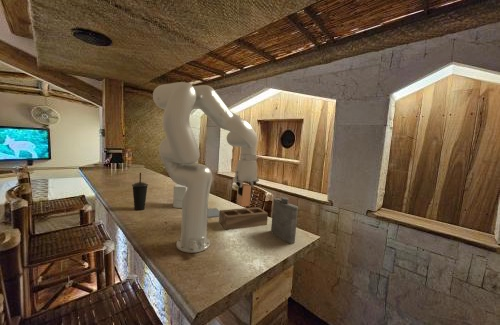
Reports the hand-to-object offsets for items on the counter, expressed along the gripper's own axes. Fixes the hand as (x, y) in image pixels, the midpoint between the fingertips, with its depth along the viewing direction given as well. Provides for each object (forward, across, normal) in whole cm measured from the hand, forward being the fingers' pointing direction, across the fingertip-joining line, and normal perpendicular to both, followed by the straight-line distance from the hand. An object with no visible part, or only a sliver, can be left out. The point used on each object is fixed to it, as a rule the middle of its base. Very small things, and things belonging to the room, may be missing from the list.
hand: (244, 194), depth 109 cm
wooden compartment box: (+15, -1, 0) cm, 15 cm away
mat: (+15, +11, -18) cm, 26 cm away
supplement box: (+15, +23, -34) cm, 44 cm away
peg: (+5, 0, 0) cm, 5 cm away
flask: (+15, -11, +19) cm, 26 cm away
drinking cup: (+16, +45, -34) cm, 59 cm away
